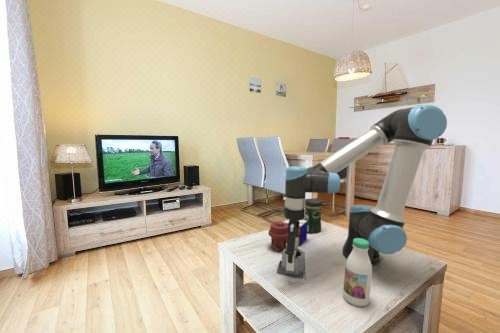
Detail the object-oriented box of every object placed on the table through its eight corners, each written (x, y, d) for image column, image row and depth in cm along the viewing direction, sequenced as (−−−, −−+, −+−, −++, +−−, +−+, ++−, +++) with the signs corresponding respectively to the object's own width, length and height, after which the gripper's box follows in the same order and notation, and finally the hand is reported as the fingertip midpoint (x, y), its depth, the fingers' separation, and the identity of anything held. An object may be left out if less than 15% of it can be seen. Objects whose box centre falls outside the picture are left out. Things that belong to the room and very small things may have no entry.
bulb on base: (304, 268, 92) (306, 248, 91) (303, 278, 85) (304, 256, 84) (279, 263, 95) (280, 244, 94) (276, 273, 88) (277, 252, 87)
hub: (304, 263, 92) (305, 249, 92) (303, 275, 84) (304, 260, 84) (283, 260, 95) (284, 246, 94) (280, 271, 87) (281, 256, 86)
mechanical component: (289, 244, 112) (288, 254, 103) (269, 242, 114) (266, 251, 104) (290, 220, 111) (290, 228, 101) (270, 218, 113) (267, 225, 103)
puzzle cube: (300, 246, 110) (301, 226, 109) (280, 241, 115) (281, 222, 114) (306, 239, 119) (308, 220, 117) (288, 234, 124) (289, 216, 123)
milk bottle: (352, 288, 80) (357, 233, 78) (373, 301, 74) (380, 242, 71) (337, 296, 76) (342, 238, 74) (359, 311, 70) (365, 248, 67)
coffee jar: (314, 227, 135) (316, 196, 133) (323, 232, 128) (325, 199, 126) (300, 228, 132) (302, 197, 130) (308, 234, 125) (310, 201, 122)
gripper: (289, 198, 100) (287, 244, 102) (278, 217, 76) (276, 276, 79) (306, 200, 97) (304, 247, 100) (302, 219, 74) (299, 281, 76)
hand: (292, 260), depth 89 cm, fingers open, 13 cm apart
